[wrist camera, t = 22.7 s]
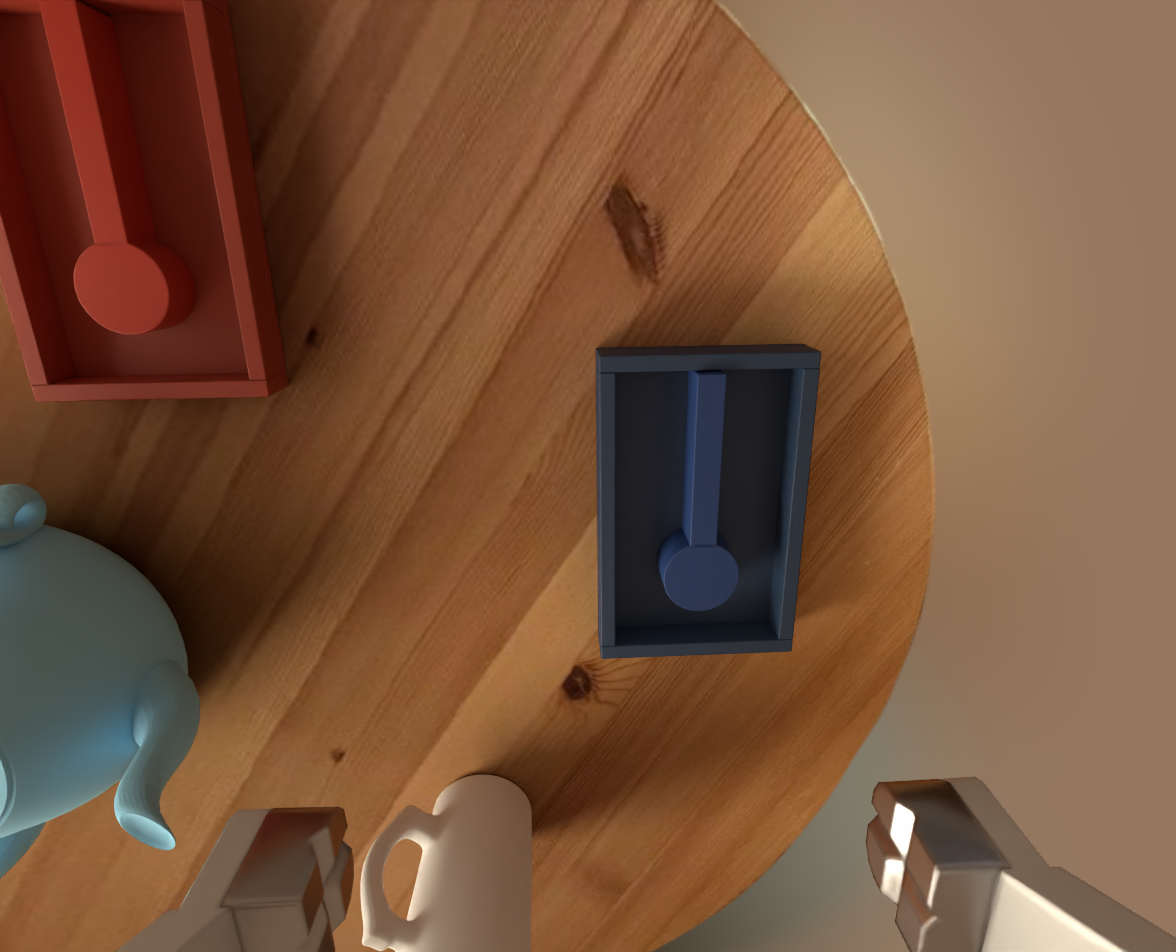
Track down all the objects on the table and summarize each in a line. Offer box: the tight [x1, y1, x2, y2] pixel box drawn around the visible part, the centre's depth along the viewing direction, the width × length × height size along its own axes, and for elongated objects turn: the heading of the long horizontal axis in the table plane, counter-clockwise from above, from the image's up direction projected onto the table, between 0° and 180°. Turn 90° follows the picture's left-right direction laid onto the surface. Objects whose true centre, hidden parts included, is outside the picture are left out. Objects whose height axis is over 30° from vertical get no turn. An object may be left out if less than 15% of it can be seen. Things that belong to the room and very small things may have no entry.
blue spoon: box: [657, 370, 739, 611], centre depth 35 cm, size 13×4×2 cm, turn 0°
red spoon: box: [39, 0, 196, 335], centre depth 29 cm, size 13×4×2 cm, turn 0°
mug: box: [361, 775, 532, 952], centre depth 38 cm, size 10×7×12 cm, turn 50°
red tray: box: [0, 0, 288, 402], centre depth 30 cm, size 17×11×2 cm, turn 1°
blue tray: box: [596, 344, 821, 659], centre depth 36 cm, size 17×11×2 cm, turn 1°
